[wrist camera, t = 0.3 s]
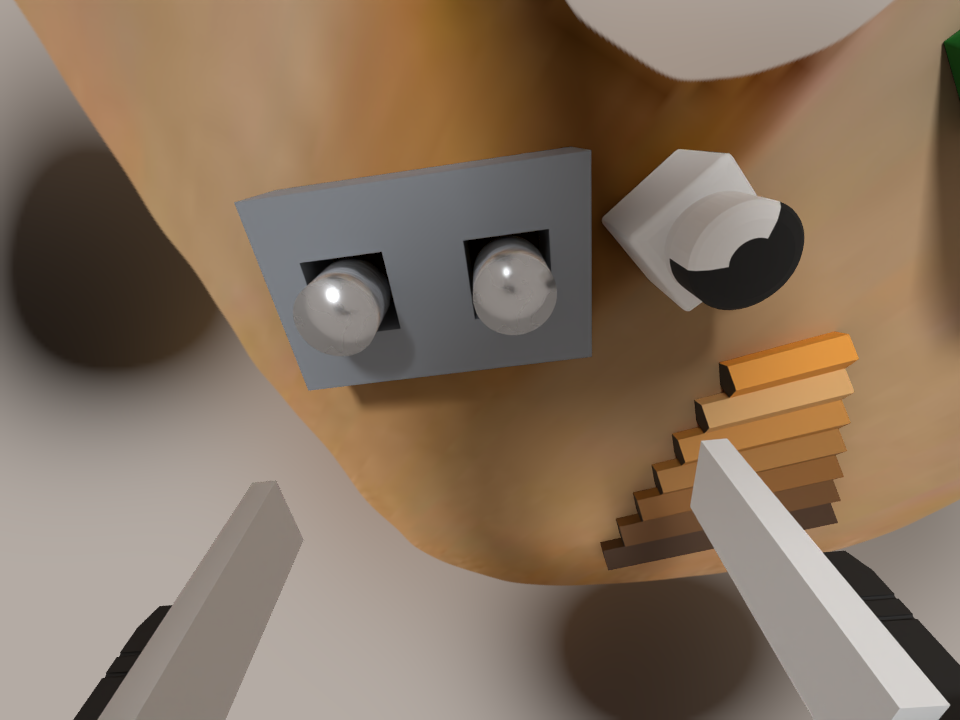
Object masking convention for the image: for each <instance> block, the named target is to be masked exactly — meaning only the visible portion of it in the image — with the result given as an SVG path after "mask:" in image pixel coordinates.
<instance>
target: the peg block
mask: <svg viewBox="0 0 960 720" xmlns="http://www.w3.org/2000/svg"><path fill="white" fill-rule="evenodd" d="M234 203H235V206H236V208H237V211H238V213H239V216H240V218H241V221H242V223H243V226H244V228H245V231H246V233H247V236H248V239H249V241H250V244H251V246H252V249H253V251H254V254H255V256H256V259H257V261H258V264H259V266H260V269H261V271H262V274H263V277H264V279H265V282H266V284H267V287H268V289H269V292H270V294H271V297H272V299H273V302H274V304H275V307H276V309H277V312H278V314H279V317H280V320H281V322H282V325H283V327H284V330H285V332H286V335H287V337H288V340H289V342H290V345H291V347H292V350H293V352H294V355H295V357H296V360H297V363H298V365H299V368H300V370H301V373H302V375H303V378H304V380H305V383H306V385H307V388H308V390H317V389H325V388H333V387H342V386H350V385H359V384H367V383H375V382H384V381H392V380H401V379H409V378H417V377H426V376H434V375H442V374H451V373H459V372H468V371H476V370H484V369H493V368H501V367H510V366H518V365H526V364H535V363H543V362H551V361H560V360H568V359H577V358H585V357H592V246H591V150H587V149H582V148H576V147H565V148H559V149H552V150H545V151H538V152H531V153H525V154H518V155H511V156H504V157H498V158H491V159H484V160H477V161H471V162H464V163H457V164H450V165H443V166H437V167H430V168H423V169H416V170H410V171H403V172H396V173H389V174H382V175H376V176H369V177H362V178H355V179H349V180H342V181H335V182H328V183H321V184H315V185H308V186H301V187H294V188H288V189H281V190H275V191H271V192H268V193H265V194H261V195H258V196H254V197H251V198H248V199H244V200H241V201H238V202H234ZM537 230H538V235H539V250H540V253H541V255H542V257H543V259H544V261H545V262H546V264H547V266H548V268H549V270H550V272H551V274H552V276H553V278H554V280H555V283H556V288H557V299H556V304H555V307H554V309H553V312H552V313H551V315H550V317H549V318H548V319H547V320H546V321H545V322H544V323H543V324H542V325H541V326H540V327H538V328H537V329H535V330H533V331H531V332H528V333H525V334H521V335H506V334H501V333H498V332H496V331H494V330H492V329H490V328H489V327H487V326H486V325H485V324H484V323H483V322H482V321H481V320H480V318H479V317H478V315H477V313H476V311H475V308H474V304H473V274H472V267H471V260H470V253H469V246H468V240H471V239H479V238H486V237H493V236H500V235H508V234H515V233H522V232H530V231H537ZM376 252H382V255H383V259H384V263H385V267H386V271H387V275H388V279H389V283H390V287H391V291H392V295H393V299H394V302H390V305H389V307H388V310H387V312H386V314H385V316H384V318H383V320H382V322H381V324H380V326H379V328H378V330H377V332H376V334H375V336H374V338H373V340H372V341H371V343H370V344H369V345H368V346H367V347H366V348H365V349H364V350H362V351H361V352H359V353H357V354H354V355H350V356H333V355H329V354H325V353H323V352H320V351H318V350H317V349H315V348H313V347H312V346H311V345H309V344H308V343H307V342H306V341H305V340H304V339H303V337H302V336H301V335H300V333H299V332H298V330H297V328H296V326H295V322H294V318H293V307H294V303H295V300H296V298H297V296H298V295H299V293H300V292H301V291H302V290H303V289H304V288H305V287H306V286H307V285H308V284H309V283H311V282H312V281H313V280H314V279H315V278H316V277H317V276H318V275H319V274H320V273H321V272H323V271H324V270H325V269H326V268H327V267H328V266H329V265H330V264H332V263H333V258H340V257H347V256H355V255H362V254H369V253H376Z"/></svg>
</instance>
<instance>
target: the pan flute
mask: <svg viewBox="0 0 960 720" xmlns="http://www.w3.org/2000/svg"><path fill="white" fill-rule="evenodd" d="M858 359H859V358H858V355H857V353H856V351H855V348H854V346H853V343H852V341H851V338H850V336H849V334H845V333H839V332H831V333H827V334H824V335H820V336H816V337H813V338H809V339H805V340H801V341H798V342H794V343H790V344H787V345H783V346H779V347H775V348H772V349H768V350H764V351H761V352H757V353H753V354H749V355H746V356H742V357H738V358H735V359H731V360H727V361H723V362H720V363H719V372H720V385H721V387H722V388H723V390H724V391H725V392H723V393H719V394H716V395H712V396H708V397H704V398H700V399H696V400H694V402H695V413H696V420H697V422H698V424H699V426H700V427H697V428H693V429H689V430H685V431H681V432H677V433H673V434H672V438H673V445H674V452H675V454H676V456H677V459H673V460H669V461H665V462H660V463H656V464H652V470H653V475H654V481H655V484H656V486H657V487H656V488H651V489H647V490H643V491H638V492H634V493H633V495H634V500H635V504H636V509H637V511H638V514H634V515H630V516H625V517H621V518H616V521H617V525H618V529H619V533H620V536H621V538H618V539H613V540H609V541H604V542H600V543H601V547H602V550H603V554H604V557H605V560H606V564H607V567H608V570H613V569H617V568H622V567H627V566H632V565H637V564H642V563H646V562H651V561H656V560H661V559H666V558H671V557H675V556H680V555H685V554H690V553H695V552H699V551H704V550H709V549H714V547H713V545H712V544H711V542H710V540H709V538H708V537H707V535H706V533H705V532H704V530H703V528H702V526H701V525H700V523H699V521H698V519H697V518H696V516H695V514H694V513H693V511H692V509H691V507H690V504H691V498H692V492H693V486H694V480H695V474H696V468H697V462H698V456H699V450H700V444H701V441H705V440H715V439H726V438H727V439H728V440H729V441H730V442H731V444H732V445H733V446H734V447H735V448H736V450H737V451H738V452H739V453H740V454H741V456H742V457H743V458H744V459H745V460H746V462H747V463H748V464H749V465H750V466H751V467H752V469H753V470H754V471H755V472H756V473H757V475H758V476H759V477H760V478H761V479H762V481H763V482H764V483H765V484H766V485H767V487H768V488H769V489H770V490H771V491H772V493H773V494H774V495H775V496H776V497H777V499H778V500H779V501H780V502H781V503H782V505H783V506H784V507H785V508H786V509H787V511H788V512H789V513H790V514H791V515H792V516H793V518H794V519H795V520H796V521H797V522H798V524H799V525H800V526H801V527H802V528H803V530H806V529H810V528H815V527H820V526H825V525H830V524H835V523H838V522H837V519H836V516H835V514H834V511H833V508H832V506H831V503H832V502H837V501H841V500H840V497H839V495H838V492H837V490H836V487H835V484H834V482H833V479H837V478H841V477H844V476H843V473H842V471H841V468H840V466H839V463H838V460H837V458H836V455H837V454H840V453H843V452H845V451H847V449H846V447H845V444H844V442H843V439H842V436H841V434H840V431H839V428H841V427H843V426H845V425H847V424H849V423H851V422H850V420H849V417H848V415H847V412H846V410H845V407H844V405H843V402H842V399H844V398H846V397H847V396H849V395H851V394H853V393H854V390H853V387H852V385H851V382H850V379H849V377H848V374H847V372H846V369H845V368H847V367H848V366H849V365H851V364H852V363H854V362H855V361H857V360H858Z"/></svg>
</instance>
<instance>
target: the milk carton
mask: <svg viewBox="0 0 960 720" xmlns="http://www.w3.org/2000/svg"><path fill="white" fill-rule="evenodd" d="M944 46H945V49H946V53H947V56H948V60H949V63H950V67H951V70H952V74H953V78H954V81H955V85H956V88H957V92H958V95H959V99H960V30H959V31H957V32H956V33H955V34H954V35H952V36H951V37H950V38H948V39H947V40H946V41H944Z"/></svg>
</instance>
